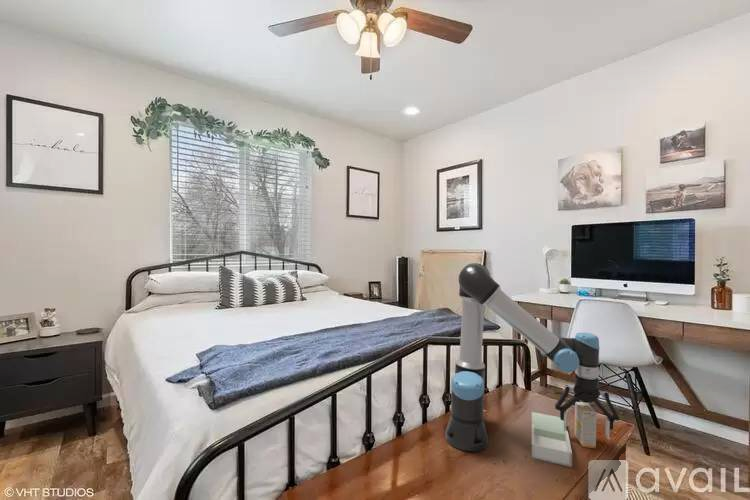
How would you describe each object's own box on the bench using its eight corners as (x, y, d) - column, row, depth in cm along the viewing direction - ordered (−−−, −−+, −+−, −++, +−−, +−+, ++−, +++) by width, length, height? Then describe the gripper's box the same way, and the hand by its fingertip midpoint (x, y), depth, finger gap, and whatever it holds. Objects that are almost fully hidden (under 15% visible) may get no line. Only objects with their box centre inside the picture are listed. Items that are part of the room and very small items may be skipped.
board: (531, 435, 133) (531, 427, 133) (531, 419, 146) (531, 411, 146) (567, 443, 128) (567, 435, 128) (564, 425, 141) (564, 418, 141)
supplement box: (596, 448, 125) (597, 412, 125) (581, 447, 126) (582, 411, 126) (587, 436, 133) (588, 402, 133) (573, 435, 134) (574, 401, 134)
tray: (531, 457, 119) (531, 444, 119) (531, 435, 133) (531, 423, 133) (571, 467, 114) (572, 453, 114) (567, 443, 128) (567, 431, 128)
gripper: (549, 373, 131) (548, 430, 131) (630, 385, 121) (629, 446, 121) (548, 367, 138) (547, 421, 138) (624, 377, 128) (623, 435, 128)
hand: (585, 433), depth 129 cm, fingers open, 13 cm apart
